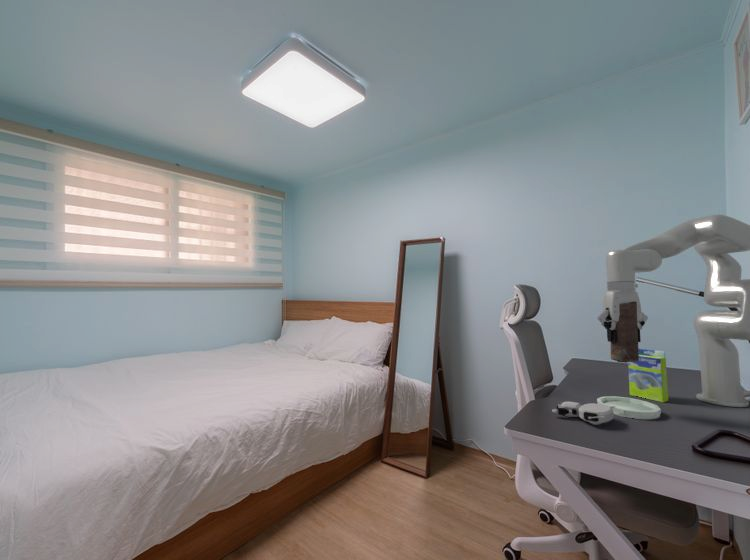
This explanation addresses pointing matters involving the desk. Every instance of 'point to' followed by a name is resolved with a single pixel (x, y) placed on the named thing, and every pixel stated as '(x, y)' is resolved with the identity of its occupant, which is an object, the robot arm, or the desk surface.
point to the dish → (631, 407)
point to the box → (649, 376)
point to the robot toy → (586, 412)
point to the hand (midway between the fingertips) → (623, 341)
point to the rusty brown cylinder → (626, 335)
